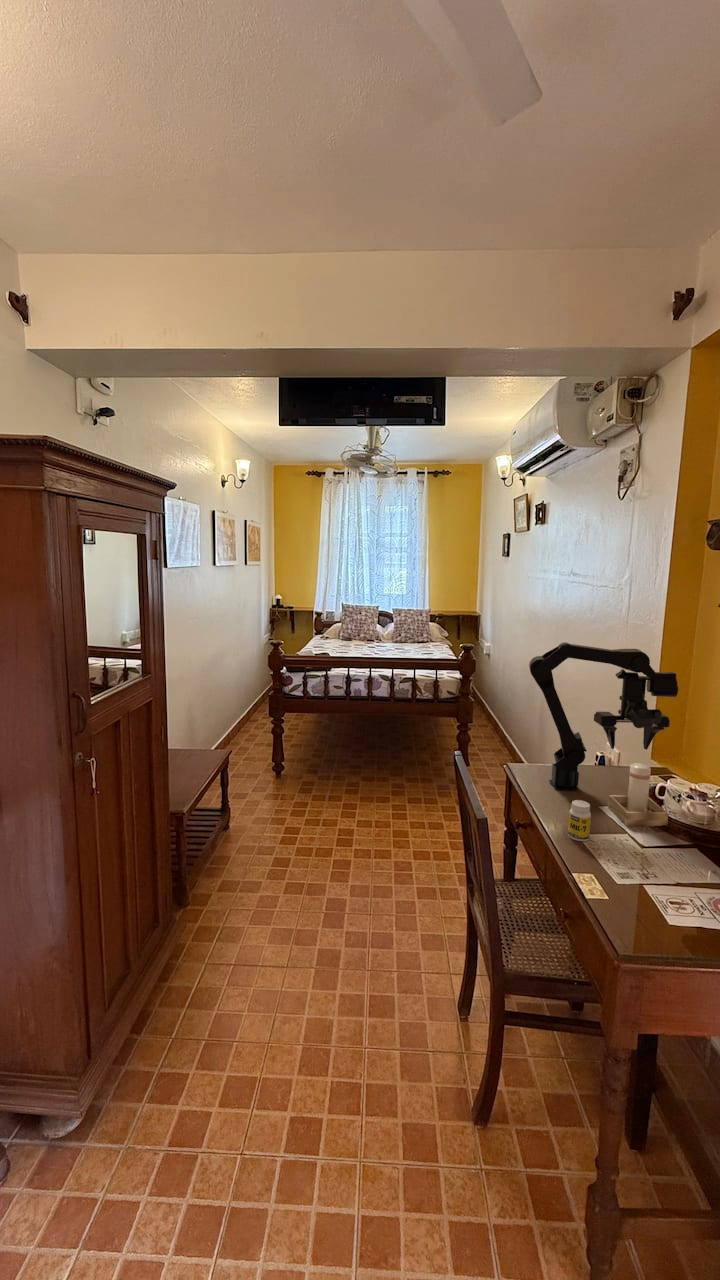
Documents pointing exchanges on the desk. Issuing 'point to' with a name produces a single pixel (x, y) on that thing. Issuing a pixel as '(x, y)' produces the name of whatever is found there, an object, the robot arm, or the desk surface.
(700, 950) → the desk surface
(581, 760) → the robot arm
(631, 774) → the vase
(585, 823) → the supplement bottle
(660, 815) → the tray
